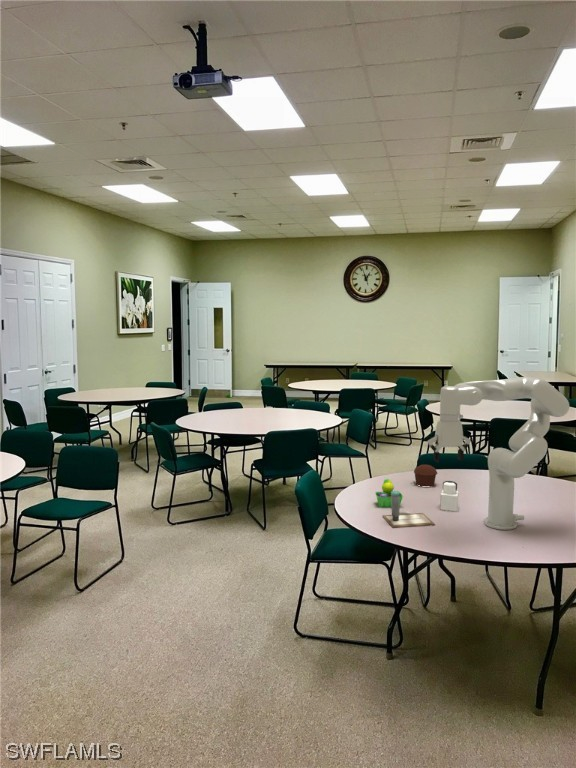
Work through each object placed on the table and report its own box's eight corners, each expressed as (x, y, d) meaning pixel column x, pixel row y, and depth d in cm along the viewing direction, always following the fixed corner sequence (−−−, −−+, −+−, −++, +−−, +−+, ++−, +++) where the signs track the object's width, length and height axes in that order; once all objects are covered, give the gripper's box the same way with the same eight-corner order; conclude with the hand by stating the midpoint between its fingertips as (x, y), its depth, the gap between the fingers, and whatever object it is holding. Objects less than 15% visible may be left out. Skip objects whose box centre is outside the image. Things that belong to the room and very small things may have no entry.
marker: (398, 518, 236) (397, 490, 235) (400, 521, 233) (400, 492, 232) (390, 518, 236) (390, 491, 234) (393, 521, 233) (392, 493, 231)
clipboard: (422, 514, 243) (422, 510, 243) (435, 525, 230) (435, 521, 230) (382, 516, 240) (382, 513, 240) (392, 527, 228) (392, 524, 227)
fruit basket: (377, 508, 251) (377, 483, 250) (374, 501, 260) (374, 477, 259) (403, 508, 251) (403, 483, 250) (399, 501, 260) (399, 477, 259)
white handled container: (441, 504, 255) (442, 479, 254) (458, 506, 253) (458, 480, 251) (440, 509, 248) (441, 483, 247) (457, 511, 246) (458, 485, 245)
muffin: (411, 486, 283) (411, 467, 281) (415, 480, 293) (415, 461, 292) (435, 489, 278) (436, 469, 277) (438, 483, 288) (439, 463, 287)
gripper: (466, 415, 225) (464, 457, 227) (424, 417, 222) (423, 459, 224) (475, 419, 217) (473, 462, 219) (432, 420, 215) (431, 464, 217)
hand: (448, 460), depth 222 cm, fingers open, 9 cm apart
